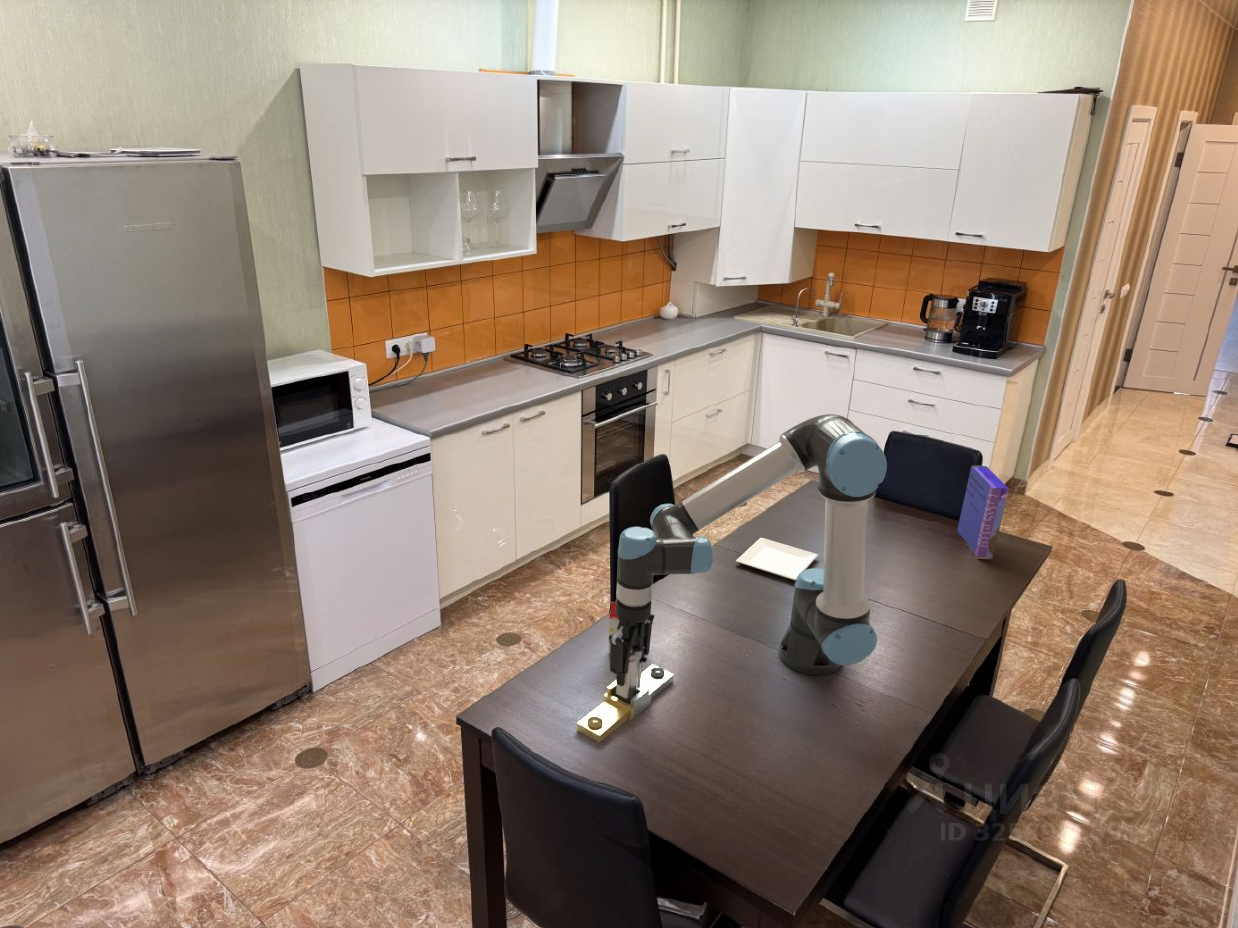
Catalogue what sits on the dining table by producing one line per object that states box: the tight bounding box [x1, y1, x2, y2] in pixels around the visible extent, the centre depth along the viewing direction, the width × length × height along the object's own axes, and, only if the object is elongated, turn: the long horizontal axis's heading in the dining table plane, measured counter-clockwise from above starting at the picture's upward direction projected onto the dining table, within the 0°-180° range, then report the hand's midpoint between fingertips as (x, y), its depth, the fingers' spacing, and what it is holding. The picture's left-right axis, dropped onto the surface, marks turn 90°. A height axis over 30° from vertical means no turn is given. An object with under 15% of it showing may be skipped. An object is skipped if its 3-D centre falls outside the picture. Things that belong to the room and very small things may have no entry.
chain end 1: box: [576, 680, 635, 744], centre depth 187 cm, size 8×16×4 cm, turn 143°
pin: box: [618, 646, 642, 705], centre depth 189 cm, size 5×5×13 cm
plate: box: [735, 537, 819, 582], centre depth 256 cm, size 19×19×2 cm
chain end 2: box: [630, 663, 675, 719], centre depth 195 cm, size 8×16×4 cm, turn 143°
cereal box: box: [956, 464, 1010, 558], centre depth 267 cm, size 17×5×24 cm, turn 179°
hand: (628, 690), depth 190 cm, fingers closed on pin, 4 cm apart
